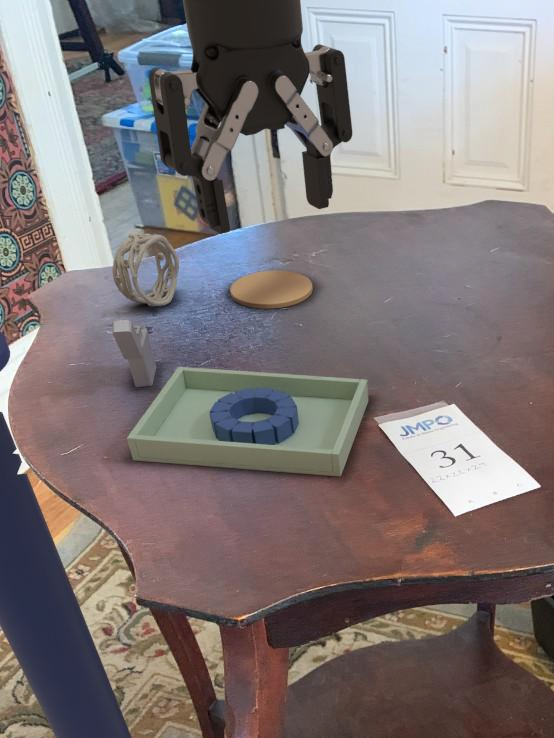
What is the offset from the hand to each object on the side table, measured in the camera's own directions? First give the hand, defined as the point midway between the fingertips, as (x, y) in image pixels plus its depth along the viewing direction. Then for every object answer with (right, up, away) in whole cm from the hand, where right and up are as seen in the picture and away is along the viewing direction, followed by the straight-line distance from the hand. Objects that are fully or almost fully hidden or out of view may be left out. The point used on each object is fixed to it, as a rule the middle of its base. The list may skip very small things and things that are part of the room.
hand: (270, 217), depth 65 cm
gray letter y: (-18, -7, +24) cm, 30 cm away
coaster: (-8, +9, +40) cm, 42 cm away
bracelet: (-22, +7, +38) cm, 44 cm away
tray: (-5, -13, +17) cm, 22 cm away
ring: (-5, -12, +17) cm, 22 cm away
